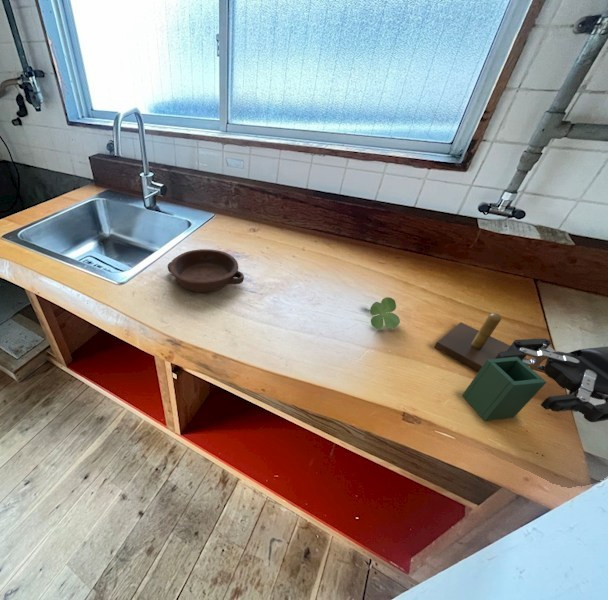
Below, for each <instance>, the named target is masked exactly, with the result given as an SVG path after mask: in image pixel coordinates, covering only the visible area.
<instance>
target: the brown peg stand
mask: <svg viewBox="0 0 608 600" xmlns="http://www.w3.org/2000/svg"><path fill="white" fill-rule="evenodd" d="M501 321H502V315H500V314H499V313H497V312H492V313H490V314H489V315H488V316H487V317H486V319H485V321H484V322H483V323H482V325H481V327H480V328H479V330H478V329H476V328H475V327H472V326H470V325H468V324H466V323H463V322H462V321H461V322H459V323H458V324H457V325H455V326H454V327H453V328H452V329H451V330H449V331H448V332H447V333H446V334H444V335H443V336H442V337H441V338H440V339H438V340H436V342H435V344H434V346H433V347H434V348H435V349H437V350H438V351H441V352H442V353H444V354H445V355H448V356H449V357H451V358H453V359H455V360H457V361H458V362H460V363H462V364H463V365H465V366H468V367H470V368H471V369H473V370H474V371H476V372H477V373H478V372H479V371H480V369H481V368H482V366H483V365H484V363H485V362H486V361H487V360H489V359H495V358H496V357H497V355H498V354H499V353H500V352H501V351H507V350H508V349H509V347H510V346H511V344H507V343H505V342H503V341H502V340H499V339H497V338H495V337H493V336H491V335H492V334H493V333H494V331H495V329H496V328H497V326H498V325H499V323H500V322H501Z"/></svg>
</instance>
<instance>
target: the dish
mask: <svg viewBox="0 0 608 600" xmlns="http://www.w3.org/2000/svg"><path fill="white" fill-rule="evenodd" d="M166 266H167V271H168V273H170V274H171V276H173V277H174V278H175V280H176V282H177V283H178V284H179V285H180V287H182V288H184V289H185V290H187V291H191V292H195V293H208V292H213V291H217V290H220V289H222V288H224V287H226V286H227V285H240V284H242V283H244V280H245V275H244V273H243V272H241V271H239V263H238V260H236V258H235V257H234V256H232V255H231V254H230V253H228V252H225V251H222V250H217V249H208V248H207V249H206V248H203V249H201V248H200V249H193V250H188V251H185V252H183V253H180V254H179V255H177V256H176V257H174V258H173V259H172V260H171V261H170V262H169V263H168V264H167V265H166Z"/></svg>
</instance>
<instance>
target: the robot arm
mask: <svg viewBox="0 0 608 600" xmlns="http://www.w3.org/2000/svg"><path fill="white" fill-rule="evenodd" d="M551 344H552V341H551V340H550V339H548V338H525V339H514V341H513V342H512V343H511V344H510V347H509V349H508V350H507V351H501V352H500V353H499V354H498V355H497V357H496V358H495V359H499V358H509V357H518V358H519V359H520V360H522V361H523V362H524V363H525V364H526V365H527V366H529V367H530V368H531V369H532V370H533V371H535V372H538V373H543V374H545V375H546V376H547V377H548V378H550V379H552V380H553V381H554V382H555V383H556V384H557V385H558V386H559V387H560V388H561V389H565V390H567V391H568V393H567V394H561V395H551V396H548V397H546V398H545V399H544V400H543V402H541V404H540V406H541V407H542V408H543V409H544V410H551V412H556V413H557V412H559V413H560V412H569V411H572V412H575V413H580V414H582V415H583V418H584V419H585V420H586V421H587V422H590V423H598V422H604V421H608V346H599V347H589V348H588V347H587V348H579V349H576V350H573V351H570V352H564V351H560V350H559V351H556V350H555V349H554V348H552V347H551V346H550V345H551ZM527 356H528V357H531V358H530V359H529V358H526V357H527ZM544 360H546V361H545V364H544V365H542V363H543V362H544ZM591 398H592V399H596V400H600V401H601V400H603V401H604V403H599V404H593V403H592V402H590V399H591Z"/></svg>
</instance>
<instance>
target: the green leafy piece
mask: <svg viewBox="0 0 608 600" xmlns="http://www.w3.org/2000/svg"><path fill="white" fill-rule="evenodd" d="M396 309H397V304H396V300H395V299H394V298H392V297H388V296H387V297H384V298H382V299H381V302H379V301H375V302H373V303H372V304H371V305H370V308H369V309H368V308H365V309H364V310H365V311H367V312H369V314H370V315H371V316H372V317H371V319H370V325H371V326H372V328H374V329H376V330H381V329H382V328H383V327H384V326H385V328H387V329H388V330H392V329H396V328H397V327H398V326H399V325H400V323H401V319H400V317H399V316H398V315H397V314H396V313H395V312H394V311H396Z"/></svg>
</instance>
